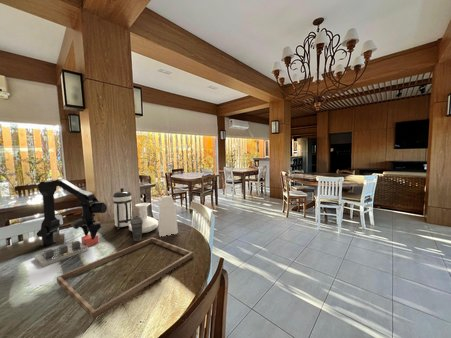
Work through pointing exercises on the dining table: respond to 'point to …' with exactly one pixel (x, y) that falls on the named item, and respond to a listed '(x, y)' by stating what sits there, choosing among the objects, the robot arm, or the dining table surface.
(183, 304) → the dining table surface
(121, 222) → the coffee press
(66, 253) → the panel
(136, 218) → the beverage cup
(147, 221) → the candle holder
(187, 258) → the serving tray rim
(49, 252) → the block
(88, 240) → the cap
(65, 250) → the grey cube
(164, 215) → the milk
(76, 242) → the block
